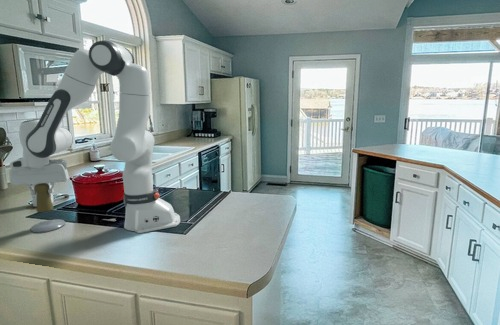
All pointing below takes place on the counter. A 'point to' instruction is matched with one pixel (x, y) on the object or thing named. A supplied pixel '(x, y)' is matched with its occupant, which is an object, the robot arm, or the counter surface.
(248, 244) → the counter surface
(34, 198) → the skincare box
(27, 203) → the counter surface
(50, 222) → the coaster
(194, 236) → the counter surface
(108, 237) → the counter surface
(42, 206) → the cork
